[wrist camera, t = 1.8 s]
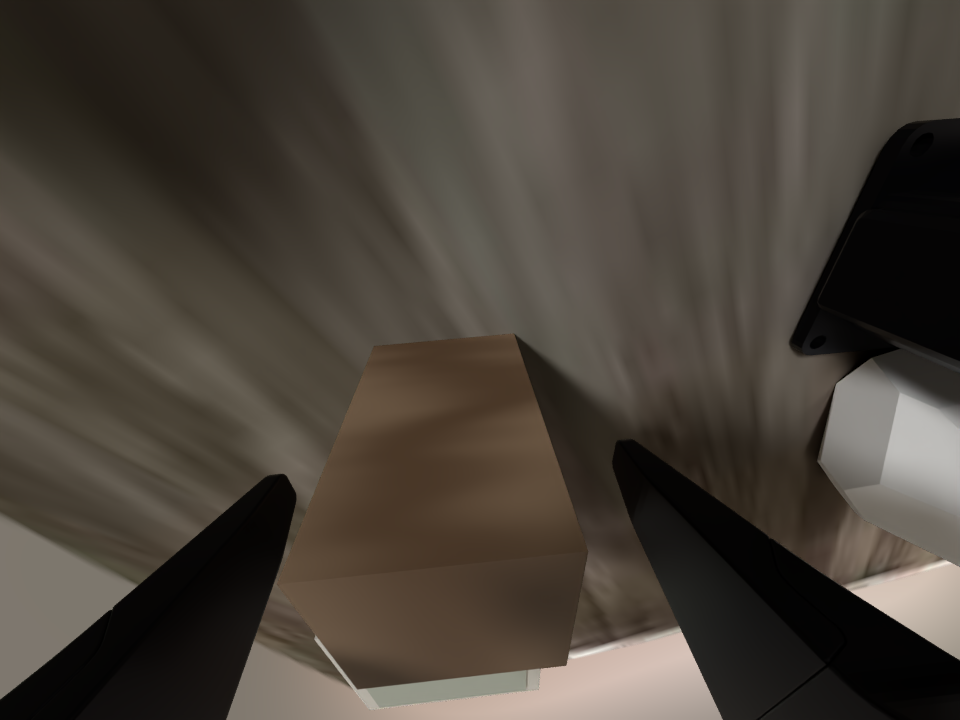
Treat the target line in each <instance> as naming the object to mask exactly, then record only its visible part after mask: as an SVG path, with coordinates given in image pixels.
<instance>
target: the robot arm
mask: <svg viewBox="0 0 960 720" xmlns="http://www.w3.org/2000/svg"><path fill="white" fill-rule="evenodd" d="M912 145H913V146H912ZM792 346H793V347H794V348H795V349H797V350H798V351H800V352H802V353H804V354H806V355H819V354H830V353H840V352H851V351H862V350H872V349H883V348H893V347H899V348H901V349H903V350H905V351H908V352H910V353H912V354H915V355H917V356H919V357H922V358H924V359H926V360H929V361H931V362H933V363H936V364H938V365H940V366H943V367H945V368H947V369H950V370H952V371H954V372H956V373H959V374H960V118H955V119H942V120H929V121H915V122H912V123H908V124H906V125H905V126H903V127H901V128H900V129H898V130H897V131H896V132H895V133H894V134H893V135H892V136H891V137H890V139H889V140H888V142H887V144H886V145H885V147H884V149H883V151H882V153H881V155H880V157H879V159H878V161H877V163H876V165H875V168H874V170H873V172H872V174H871V176H870V178H869V180H868V182H867V184H866V186H865V188H864V190H863V193H862V195H861V197H860V199H859V201H858V203H857V205H856V207H855V209H854V211H853V213H852V216H851V218H850V220H849V222H848V224H847V226H846V228H845V230H844V232H843V234H842V236H841V238H840V241H839V243H838V245H837V247H836V249H835V251H834V253H833V255H832V257H831V259H830V261H829V264H828V266H827V268H826V270H825V272H824V274H823V276H822V278H821V280H820V282H819V284H818V286H817V289H816V291H815V293H814V295H813V297H812V299H811V301H810V303H809V305H808V307H807V309H806V312H805V314H804V316H803V318H802V320H801V322H800V324H799V326H798V328H797V330H796V332H795V334H794V337H793V339H792ZM612 465H613V470H614V473H615V476H616V479H617V482H618V485H619V487H620V490H621V493H622V496H623V499H624V502H625V505H626V508H627V511H628V514H629V517H630V519H631V522H632V524H633V527H634V529H635V531H636V533H637V536H638V538H639V540H640V542H641V544H642V546H643V549H644V551H645V553H646V555H647V557H648V559H649V561H650V564H651V566H652V568H653V570H654V572H655V574H656V577H657V579H658V581H659V583H660V585H661V587H662V589H663V592H664V594H665V596H666V598H667V600H668V602H669V605H670V607H671V609H672V611H673V613H674V615H675V617H676V620H677V622H678V624H679V626H680V628H681V630H682V633H683V635H684V637H685V639H686V641H687V643H688V645H689V648H690V650H691V652H692V654H693V656H694V658H695V661H696V663H697V665H698V667H699V669H700V671H701V673H702V676H703V678H704V680H705V682H706V684H707V686H708V688H709V691H710V693H711V695H712V697H713V699H714V702H715V704H716V706H717V708H718V710H719V712H720V714H721V716H722V719H723V720H960V660H959V659H957V658H955V657H954V656H952V655H950V654H949V653H947V652H945V651H944V650H942V649H940V648H939V647H937V646H936V645H934V644H932V643H931V642H929V641H928V640H926V639H925V638H923V637H921V636H920V635H918V634H917V633H915V632H913V631H912V630H910V629H909V628H907V627H905V626H904V625H902V624H901V623H899V622H898V621H896V620H894V619H893V618H891V617H890V616H888V615H887V614H885V613H883V612H882V611H880V610H879V609H877V608H875V607H874V606H872V605H871V604H869V603H868V602H866V601H864V600H862V599H861V598H860V597H858V596H856V595H855V594H853V593H852V592H850V591H849V590H847V589H846V588H844V587H843V586H841V585H839V584H838V583H836V582H835V581H833V580H832V579H830V578H829V577H827V576H826V575H824V574H822V573H821V572H819V571H818V570H817V569H815V568H814V567H812V566H811V565H809V564H808V563H806V562H805V561H804V560H802V559H801V558H799V557H798V556H796V555H795V554H793V553H792V552H790V551H789V550H788V549H786V548H785V547H783V546H782V545H781V544H779V543H778V542H776V541H775V540H774V539H772V538H770V539H769V537H768V535H766V534H765V533H764V532H762V531H761V530H759V529H758V528H757V527H755V526H754V525H752V524H751V523H750V522H748V521H747V520H745V519H744V518H743V517H741V516H740V515H738V514H737V513H736V512H734V511H733V510H731V509H730V508H729V507H727V506H726V505H724V504H723V503H722V502H720V501H719V500H717V499H716V498H715V497H713V496H712V495H710V494H709V493H708V492H706V491H705V490H703V489H702V488H701V487H699V486H698V485H696V484H695V483H694V482H692V481H691V480H689V479H688V478H687V477H685V476H684V475H682V474H681V473H680V472H678V471H677V470H675V469H674V468H673V467H671V466H670V465H668V464H667V463H666V462H664V461H663V460H661V459H660V458H659V457H657V456H656V455H654V454H653V453H652V452H650V451H649V450H647V449H646V448H645V447H643V446H642V445H640V444H639V443H638V442H636V441H635V440H632V439H626V440H618V441H617V442H616V445H615V450H614V455H613V460H612ZM295 505H296V492H295V490H294V489H293V487H292V485H291V483H290V481H289V479H288V478H287V476H286V475H284V474H275V475H269V476H266V477H265V478H264V479H263V480H261V481H260V482H259V483H258V484H257V485H255V486H254V487H253V488H252V489H251V490H250V491H248V492H247V493H246V494H245V495H244V496H243V497H241V498H240V499H239V500H238V501H237V502H236V503H234V504H233V505H232V506H231V507H230V508H229V509H227V510H226V511H225V512H224V513H223V514H222V515H220V516H219V517H218V518H217V519H216V520H215V521H213V522H212V523H211V524H210V525H209V526H207V527H206V528H205V529H204V530H203V531H202V532H200V533H199V534H198V535H197V536H196V537H195V538H193V539H192V540H191V541H190V542H189V543H188V544H186V545H185V546H184V547H183V548H182V549H181V550H179V551H178V552H177V553H176V554H175V555H174V556H172V557H171V558H170V559H169V560H168V561H166V562H165V563H164V564H163V565H162V566H161V567H159V568H158V569H157V570H156V571H155V572H154V573H152V574H151V575H150V576H149V577H148V578H147V579H145V580H144V581H143V582H142V583H141V584H140V585H138V586H137V587H136V588H135V589H134V590H133V591H131V592H130V593H129V594H128V595H127V596H126V597H124V598H123V599H122V600H121V601H120V602H118V603H117V604H116V605H115V606H114V607H113V609H112V610H109V611H108V612H107V613H105V614H104V615H103V616H102V617H101V618H100V619H98V620H97V621H96V622H95V623H94V624H93V625H91V626H90V627H89V628H88V629H87V630H86V631H84V632H83V633H82V634H81V635H80V636H78V637H77V638H76V639H75V640H74V641H72V642H71V643H70V644H69V645H68V646H66V647H65V648H64V649H63V650H61V651H60V652H59V653H58V654H57V655H55V656H54V657H53V658H52V659H51V660H49V661H48V662H47V663H46V664H45V665H43V666H42V667H41V668H39V669H38V670H37V671H36V672H34V673H33V674H32V675H31V676H29V677H28V678H27V679H26V680H24V681H23V682H22V683H21V684H19V685H18V686H17V687H16V688H14V689H13V690H12V691H11V692H9V693H8V694H7V695H5V696H4V697H3V698H2V699H0V720H226V718H227V716H228V713H229V710H230V707H231V704H232V701H233V699H234V696H235V693H236V690H237V687H238V684H239V681H240V678H241V675H242V673H243V670H244V667H245V664H246V661H247V659H248V656H249V653H250V650H251V647H252V644H253V641H254V639H255V636H256V633H257V630H258V627H259V624H260V622H261V619H262V616H263V613H264V610H265V607H266V604H267V602H268V599H269V596H270V593H271V590H272V587H273V584H274V582H275V579H276V576H277V573H278V570H279V567H280V564H281V561H282V558H283V554H284V550H285V546H286V542H287V538H288V534H289V530H290V525H291V521H292V517H293V513H294V509H295Z"/></svg>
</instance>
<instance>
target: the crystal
mask: <svg viewBox="0 0 960 720" xmlns="http://www.w3.org/2000/svg"><path fill="white" fill-rule="evenodd" d="M817 462H818V463H819V465H820V466H821V467H822V469H823V470H824V472H825V473H826V475H827V476H828V478H829V479H830V481H831V482H832V484H833V485H834V486H835V488H836V489H837V490H838V491H839V493H840V494H841V495H842V497H843V498H844V499H845V501H846V502H847V503H848V504H849V506H850V507H851V508H852V510H853V511H854V512H855V513H856V514H858V515H859V516H860V517H861V518H862V519H864V520H865V521H867V522H869V523H871V524H873V525H875V526H877V527H879V528H881V529H883V530H885V531H887V532H890V533H892V534H894V535H896V536H898V537H900V538H902V539H904V540H906V541H908V542H910V543H912V544H914V545H916V546H918V547H920V548H922V549H924V550H926V551H928V552H930V553H933V554H935V555H937V556H939V557H941V558H943V559H945V560H947V561H949V562H951V563H953V564H955V565H957V566H959V567H960V374H959V373H956V372H954V371H952V370H950V369H947V368H945V367H943V366H940V365H938V364H936V363H933V362H931V361H929V360H926V359H924V358H922V357H919V356H917V355H915V354H912V353H910V352H908V351H905V350H903V349H898V350H895V351H892V352H889V353H885V354H882V355H879V356H876V357H873V358H871V359H869V360H868V361H867V362H865V363H864V364H862V365H861V366H860V367H858V368H857V369H856V370H854V371H853V372H852V373H850V374H849V375H847V376H846V377H845V378H843V379H842V380H841V381H839V382H838V383H837V384H836V386H835V390H834V394H833V398H832V402H831V407H830V411H829V415H828V419H827V423H826V427H825V431H824V435H823V439H822V443H821V447H820V451H819V455H818V459H817Z"/></svg>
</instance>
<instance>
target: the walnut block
mask: <svg viewBox="0 0 960 720" xmlns="http://www.w3.org/2000/svg"><path fill="white" fill-rule="evenodd" d="M587 555H588V549H587V546H586V543H585V540H584V538H583V535H582V532H581V529H580V526H579V523H578V520H577V517H576V514H575V511H574V508H573V505H572V502H571V499H570V496H569V494H568V491H567V488H566V485H565V482H564V479H563V476H562V473H561V470H560V467H559V464H558V461H557V458H556V455H555V452H554V450H553V447H552V444H551V441H550V438H549V435H548V432H547V429H546V426H545V423H544V420H543V417H542V414H541V411H540V409H539V406H538V403H537V400H536V397H535V394H534V391H533V388H532V385H531V382H530V379H529V376H528V373H527V370H526V367H525V365H524V362H523V359H522V356H521V353H520V350H519V347H518V344H517V341H516V338H515V335H514V334H504V335H493V336H482V337H471V338H460V339H449V340H438V341H427V342H416V343H404V344H393V345H382V346H374V348H373V350H372V353H371V355H370V357H369V360H368V362H367V365H366V367H365V370H364V372H363V375H362V377H361V380H360V382H359V384H358V387H357V389H356V392H355V394H354V397H353V399H352V402H351V404H350V406H349V409H348V411H347V414H346V416H345V419H344V421H343V424H342V426H341V428H340V431H339V433H338V436H337V438H336V441H335V443H334V446H333V448H332V451H331V453H330V455H329V458H328V460H327V463H326V465H325V468H324V470H323V473H322V475H321V477H320V480H319V482H318V485H317V487H316V490H315V492H314V495H313V497H312V499H311V502H310V504H309V507H308V509H307V512H306V514H305V517H304V519H303V522H302V524H301V526H300V529H299V531H298V534H297V536H296V539H295V541H294V544H293V546H292V548H291V551H290V553H289V556H288V558H287V561H286V563H285V566H284V568H283V570H282V573H281V575H280V578H279V580H278V583H277V585H278V587H279V588H280V589H281V591H282V592H283V593H284V594H285V596H286V597H287V598H288V600H289V601H290V602H291V604H292V605H293V606H294V608H295V609H296V610H297V611H298V613H299V614H300V615H301V617H302V618H303V619H304V621H305V622H306V623H307V625H308V626H309V627H310V628H311V630H312V631H313V632H314V634H315V635H316V636H317V638H318V639H319V640H320V641H321V643H322V644H323V645H324V647H325V648H326V649H327V651H328V652H329V653H330V655H331V656H332V657H333V658H334V660H335V661H336V662H337V664H338V665H339V666H340V668H341V669H342V670H343V671H344V673H345V674H346V675H347V677H348V678H349V679H350V681H351V682H352V683H353V685H354V686H355V687H356V688H357V690H358V689H367V688H376V687H384V686H393V685H402V684H411V683H419V682H428V681H437V680H445V679H454V678H463V677H471V676H480V675H489V674H497V673H506V672H515V671H524V670H532V669H541V668H550V667H558V666H566V664H567V659H568V654H569V649H570V644H571V639H572V633H573V628H574V623H575V618H576V612H577V607H578V602H579V597H580V592H581V586H582V581H583V576H584V571H585V565H586V560H587Z"/></svg>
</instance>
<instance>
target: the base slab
mask: <svg viewBox="0 0 960 720" xmlns="http://www.w3.org/2000/svg"><path fill="white" fill-rule="evenodd" d="M315 641H316V642H317V643H318V645H319V646H320V647H321V648H322V650H323V651H324V652H325V654H326V655H327V656H328V657H329V659H330V660H331V661H332V663H333V664H334V665H335V666H336V668H337V669H338V670H339V672H340V673H341V674H342V675H343V677H344V678H345V679H346V681H347V682H348V683H349V684H350V686H351V687H352V688H353V690H354V691H355V692H356V693H357V695H358V696H359V697H360V698H361V700H362V701H363V702H364V704H365V705H366V706H367V707H368V709H369V710H374V709H382V708H391V707H399V706H408V705H416V704H424V703H433V702H441V701H449V700H458V699H466V698H474V697H483V696H491V695H499V694H508V693H516V692H524V691H532V690H539V680H540V669H532V670H524V671H515V672H506V673H497V674H489V675H480V676H471V677H463V678H454V679H445V680H437V681H428V682H419V683H411V684H402V685H393V686H384V687H376V688H367V689H358V690H357V688H356V687H355V686H354V685H353V683H352V682H351V681H350V679H349V678H348V677H347V675H346V674H345V673H344V671H343V670H342V669H341V668H340V666H339V665H338V664H337V662H336V661H335V660H334V658H333V657H332V656H331V655H330V653H329V652H328V651H327V649H326V648H325V647H324V645H323V644H322V643H321V641H320V640H319V639H318V638H317V636H316V635H315Z"/></svg>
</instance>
